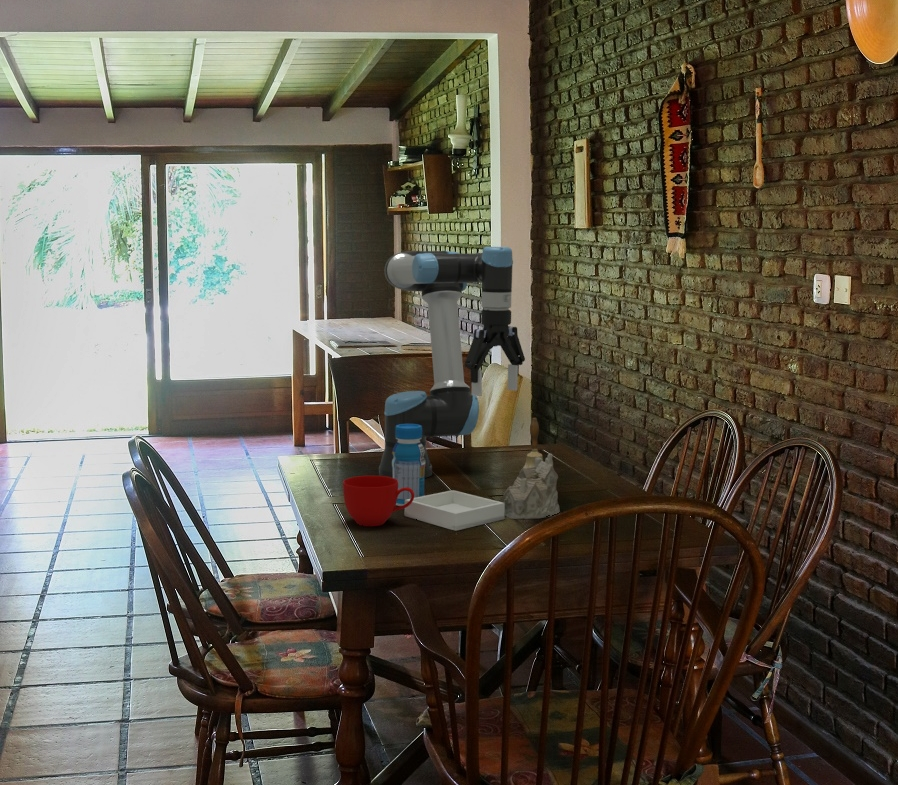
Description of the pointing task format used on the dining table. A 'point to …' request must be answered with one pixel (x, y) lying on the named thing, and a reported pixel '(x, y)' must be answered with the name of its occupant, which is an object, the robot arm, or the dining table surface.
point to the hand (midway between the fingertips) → (494, 392)
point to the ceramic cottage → (533, 492)
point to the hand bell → (533, 444)
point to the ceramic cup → (372, 498)
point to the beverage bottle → (408, 461)
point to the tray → (455, 510)
